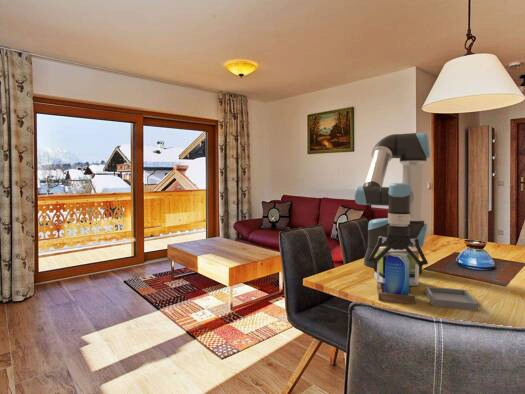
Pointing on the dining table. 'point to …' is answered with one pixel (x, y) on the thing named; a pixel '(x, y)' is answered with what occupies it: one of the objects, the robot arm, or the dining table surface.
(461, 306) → the tray
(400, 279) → the beer can
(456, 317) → the dining table surface
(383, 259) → the tea box
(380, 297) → the frame
